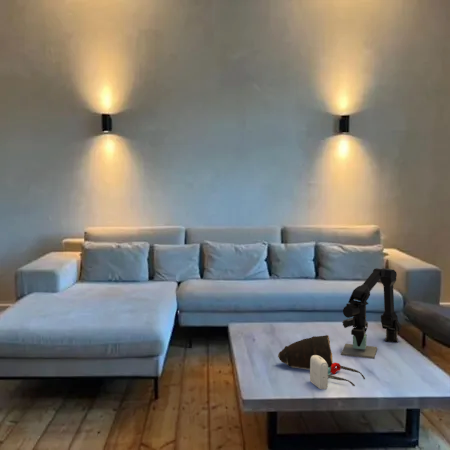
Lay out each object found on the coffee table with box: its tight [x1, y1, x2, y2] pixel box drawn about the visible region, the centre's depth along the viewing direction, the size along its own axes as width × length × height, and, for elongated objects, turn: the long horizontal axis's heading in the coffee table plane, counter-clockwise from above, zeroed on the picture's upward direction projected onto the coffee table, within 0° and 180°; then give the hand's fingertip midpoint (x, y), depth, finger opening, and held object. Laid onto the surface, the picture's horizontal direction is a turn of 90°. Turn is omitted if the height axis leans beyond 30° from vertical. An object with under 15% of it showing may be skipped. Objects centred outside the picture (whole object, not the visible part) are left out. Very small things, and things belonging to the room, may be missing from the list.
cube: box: [352, 333, 367, 349], centre depth 263 cm, size 6×6×6 cm
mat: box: [340, 343, 378, 360], centre depth 263 cm, size 16×16×1 cm
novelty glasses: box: [328, 362, 366, 387], centre depth 227 cm, size 14×15×5 cm
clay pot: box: [277, 334, 334, 371], centre depth 242 cm, size 15×15×25 cm
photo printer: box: [309, 355, 329, 390], centre depth 220 cm, size 10×4×12 cm, turn 17°
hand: (359, 344), depth 263 cm, fingers closed on cube, 6 cm apart
